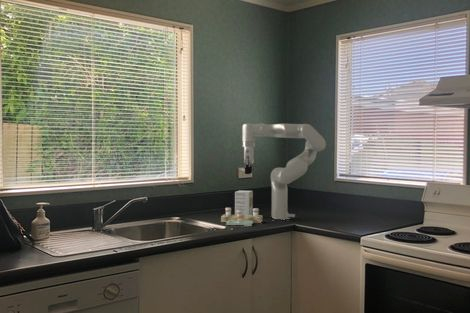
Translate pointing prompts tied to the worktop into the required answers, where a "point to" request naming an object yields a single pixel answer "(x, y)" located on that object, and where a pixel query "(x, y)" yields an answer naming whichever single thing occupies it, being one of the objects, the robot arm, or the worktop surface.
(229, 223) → the tray
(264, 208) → the worktop surface
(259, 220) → the fuse block
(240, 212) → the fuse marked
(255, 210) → the fuse
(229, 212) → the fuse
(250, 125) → the robot arm
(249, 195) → the supplement box
